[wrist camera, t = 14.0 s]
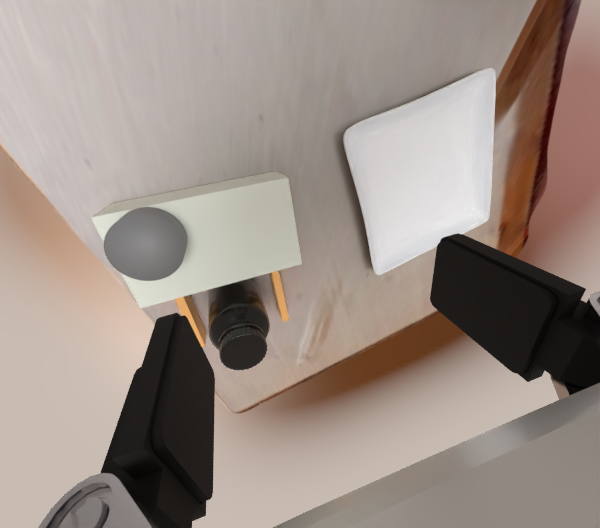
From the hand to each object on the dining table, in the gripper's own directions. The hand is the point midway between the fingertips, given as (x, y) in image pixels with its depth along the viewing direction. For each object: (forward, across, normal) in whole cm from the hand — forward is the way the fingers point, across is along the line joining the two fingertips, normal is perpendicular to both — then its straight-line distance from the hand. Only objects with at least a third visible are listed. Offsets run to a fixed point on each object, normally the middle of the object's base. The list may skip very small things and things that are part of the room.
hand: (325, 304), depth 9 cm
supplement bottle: (+25, +6, +14) cm, 29 cm away
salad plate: (+26, -23, +5) cm, 35 cm away
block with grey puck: (+25, +6, +9) cm, 27 cm away
